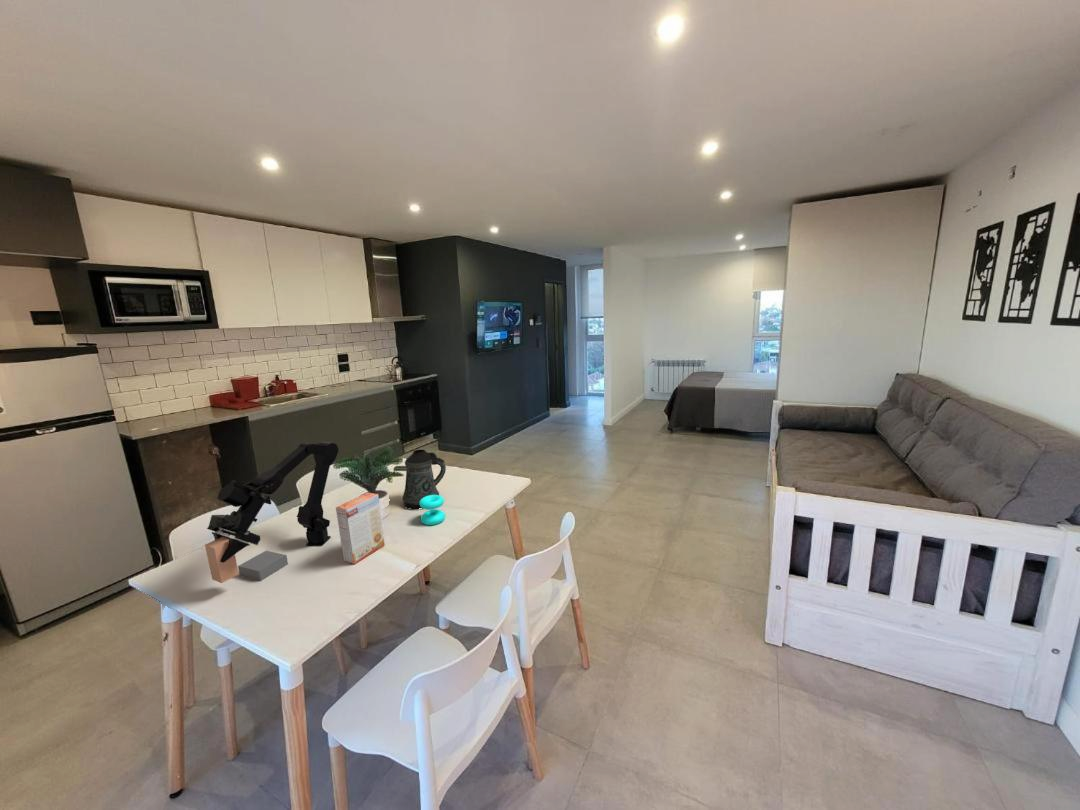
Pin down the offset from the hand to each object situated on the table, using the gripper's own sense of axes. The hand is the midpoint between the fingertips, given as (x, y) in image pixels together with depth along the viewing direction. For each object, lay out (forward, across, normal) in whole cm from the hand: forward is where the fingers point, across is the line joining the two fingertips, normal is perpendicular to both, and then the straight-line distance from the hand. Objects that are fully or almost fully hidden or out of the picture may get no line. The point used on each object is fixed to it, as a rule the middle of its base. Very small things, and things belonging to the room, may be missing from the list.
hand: (216, 560), depth 129 cm
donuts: (-37, +31, +54) cm, 72 cm away
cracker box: (-16, +23, +33) cm, 43 cm away
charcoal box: (-1, -1, +18) cm, 18 cm away
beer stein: (-47, +14, +64) cm, 81 cm away
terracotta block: (+4, 0, +6) cm, 7 cm away
